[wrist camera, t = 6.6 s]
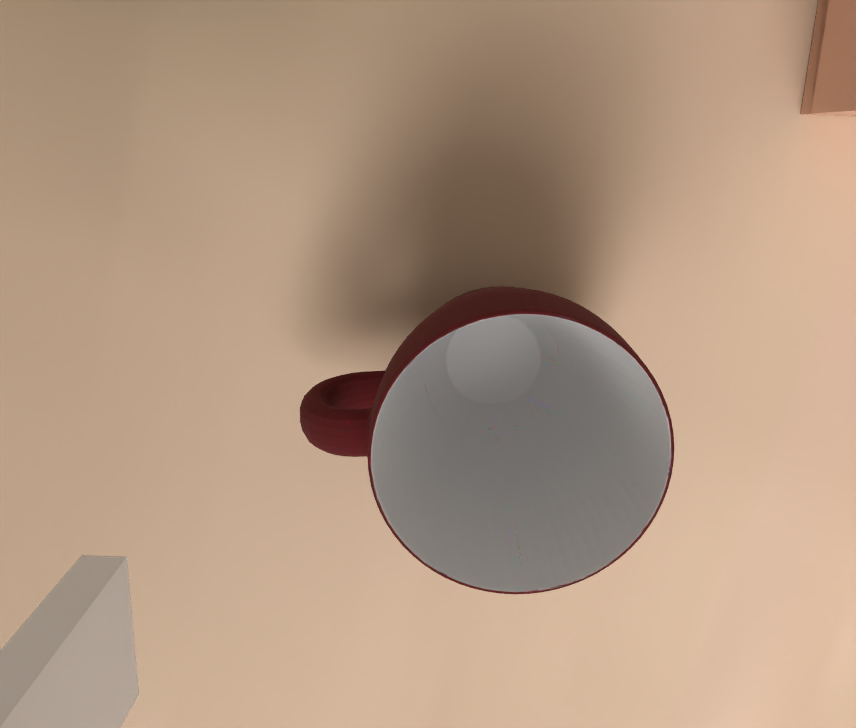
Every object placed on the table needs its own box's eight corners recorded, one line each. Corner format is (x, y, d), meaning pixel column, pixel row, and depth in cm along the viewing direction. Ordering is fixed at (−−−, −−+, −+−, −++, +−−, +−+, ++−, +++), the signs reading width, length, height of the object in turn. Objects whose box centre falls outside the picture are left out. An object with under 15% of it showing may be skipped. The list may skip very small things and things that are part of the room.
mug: (352, 483, 31) (317, 636, 22) (301, 290, 29) (237, 365, 20) (612, 433, 31) (693, 566, 21) (580, 230, 29) (654, 277, 19)
